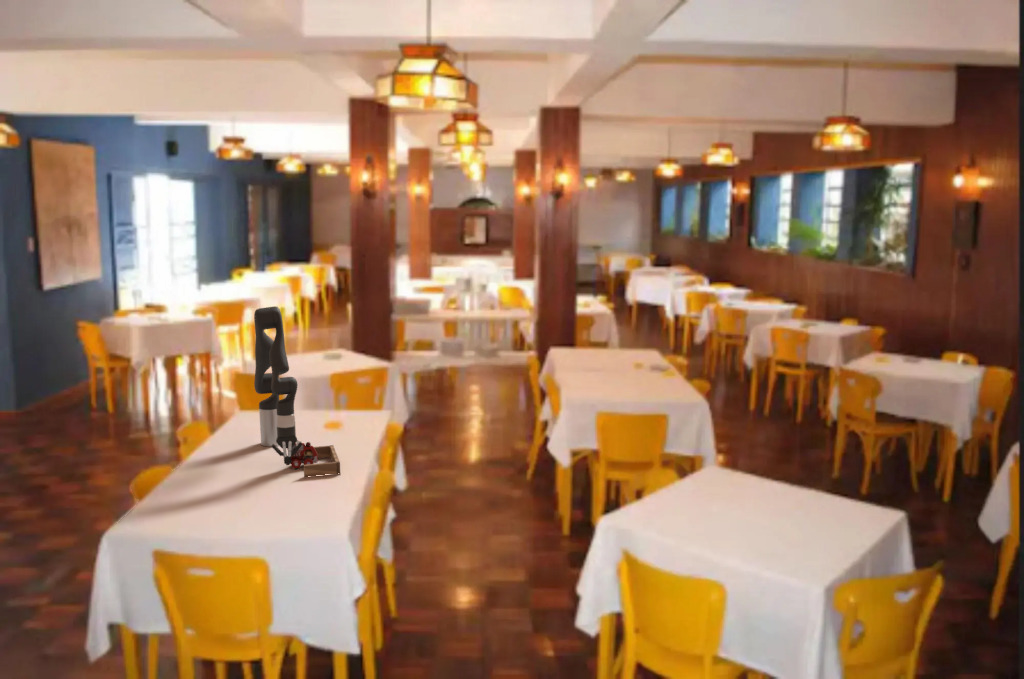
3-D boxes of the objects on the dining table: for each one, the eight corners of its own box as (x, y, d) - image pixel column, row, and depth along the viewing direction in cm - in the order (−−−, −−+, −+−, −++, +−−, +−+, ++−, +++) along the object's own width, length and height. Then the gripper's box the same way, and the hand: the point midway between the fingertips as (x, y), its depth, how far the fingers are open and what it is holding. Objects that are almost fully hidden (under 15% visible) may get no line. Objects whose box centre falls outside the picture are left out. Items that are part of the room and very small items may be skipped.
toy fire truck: (317, 468, 383) (316, 444, 382) (287, 469, 381) (286, 445, 379) (318, 463, 390) (317, 439, 388) (288, 464, 388) (287, 441, 386)
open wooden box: (299, 459, 396) (299, 448, 395) (333, 456, 400) (333, 445, 399) (304, 477, 370) (303, 465, 370) (340, 474, 374) (339, 462, 374)
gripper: (301, 421, 383) (303, 461, 386) (269, 423, 380) (271, 463, 383) (302, 425, 376) (304, 466, 379) (269, 428, 373) (271, 468, 376)
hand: (287, 464), depth 381 cm, fingers closed
